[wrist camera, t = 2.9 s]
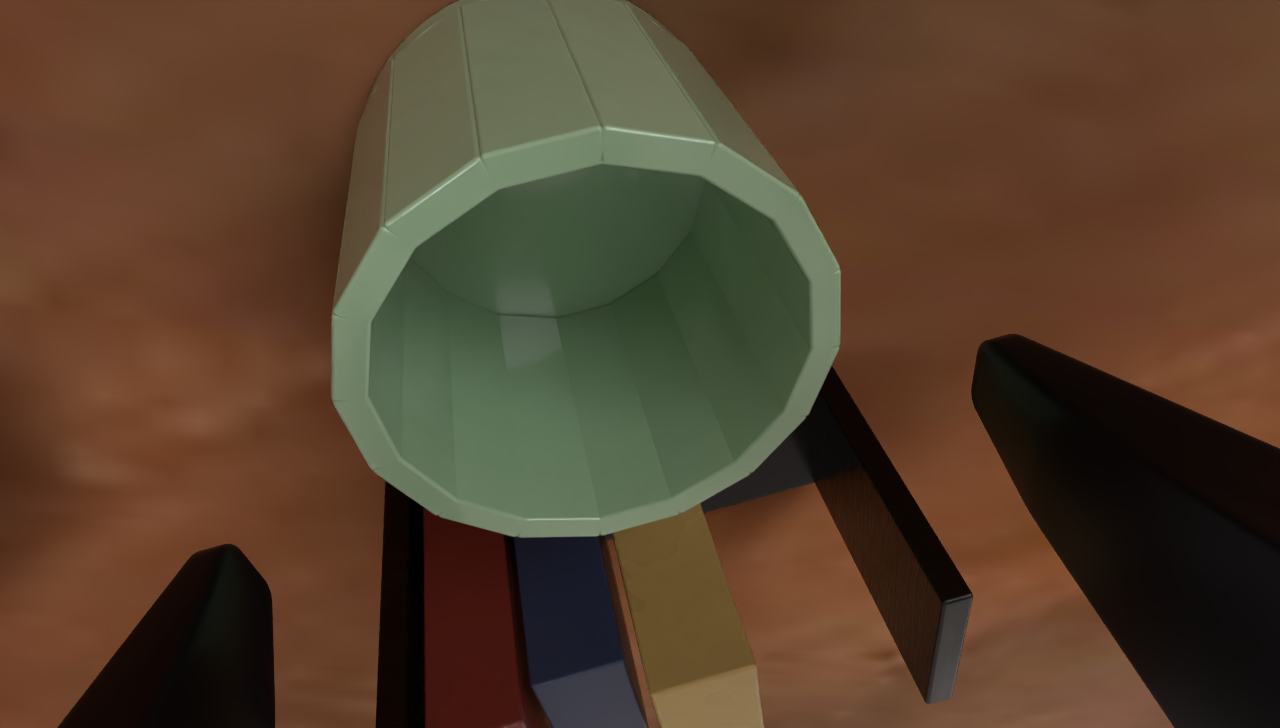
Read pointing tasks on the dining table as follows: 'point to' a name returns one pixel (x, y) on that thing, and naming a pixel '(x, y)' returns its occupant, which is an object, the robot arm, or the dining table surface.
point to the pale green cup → (570, 275)
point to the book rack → (644, 601)
